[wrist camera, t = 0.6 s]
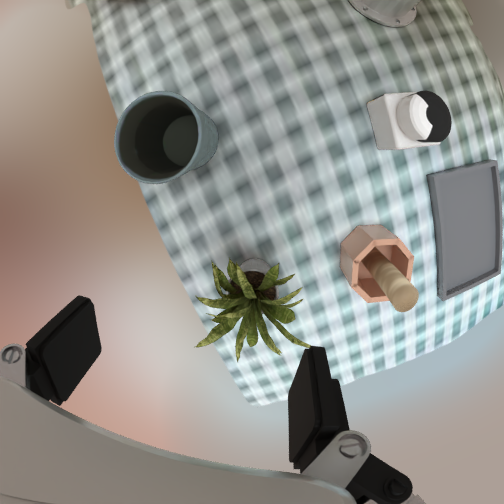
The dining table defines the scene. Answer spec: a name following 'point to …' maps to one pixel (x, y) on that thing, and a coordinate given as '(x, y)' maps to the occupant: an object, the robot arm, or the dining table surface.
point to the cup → (360, 246)
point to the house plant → (250, 304)
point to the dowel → (391, 281)
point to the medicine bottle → (409, 120)
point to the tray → (466, 226)
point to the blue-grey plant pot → (163, 137)
